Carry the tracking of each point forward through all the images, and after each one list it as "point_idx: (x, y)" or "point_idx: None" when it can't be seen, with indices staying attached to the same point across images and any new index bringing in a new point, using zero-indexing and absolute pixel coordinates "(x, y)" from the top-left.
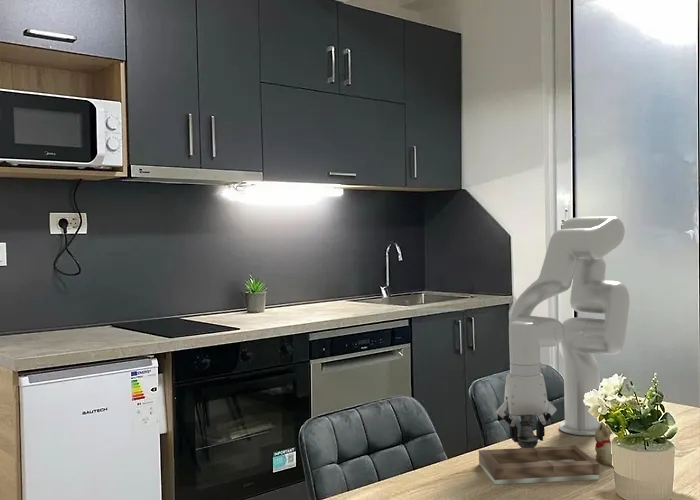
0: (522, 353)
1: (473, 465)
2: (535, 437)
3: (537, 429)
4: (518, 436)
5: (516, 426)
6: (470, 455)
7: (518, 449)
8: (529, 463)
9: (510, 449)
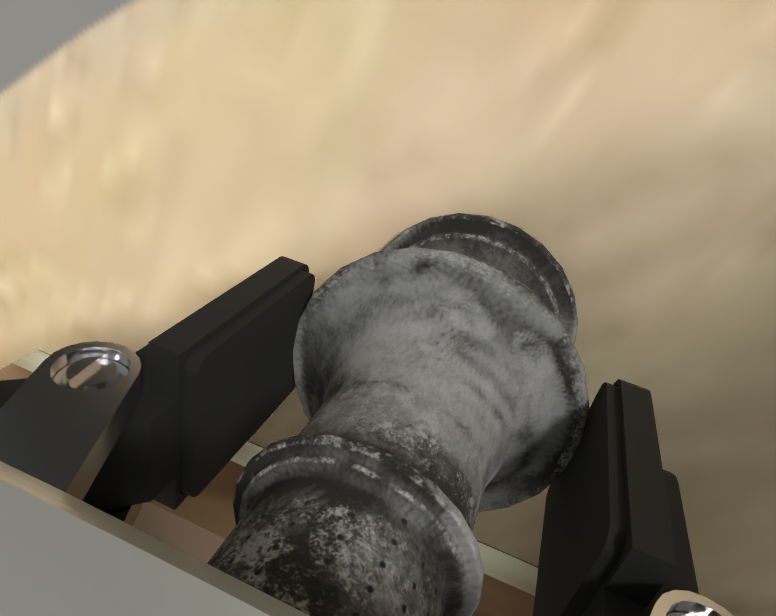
0: None
1: (8, 344)
2: (486, 491)
3: (578, 511)
4: (321, 350)
5: (189, 473)
6: (7, 151)
7: (200, 548)
8: None
9: (144, 516)
